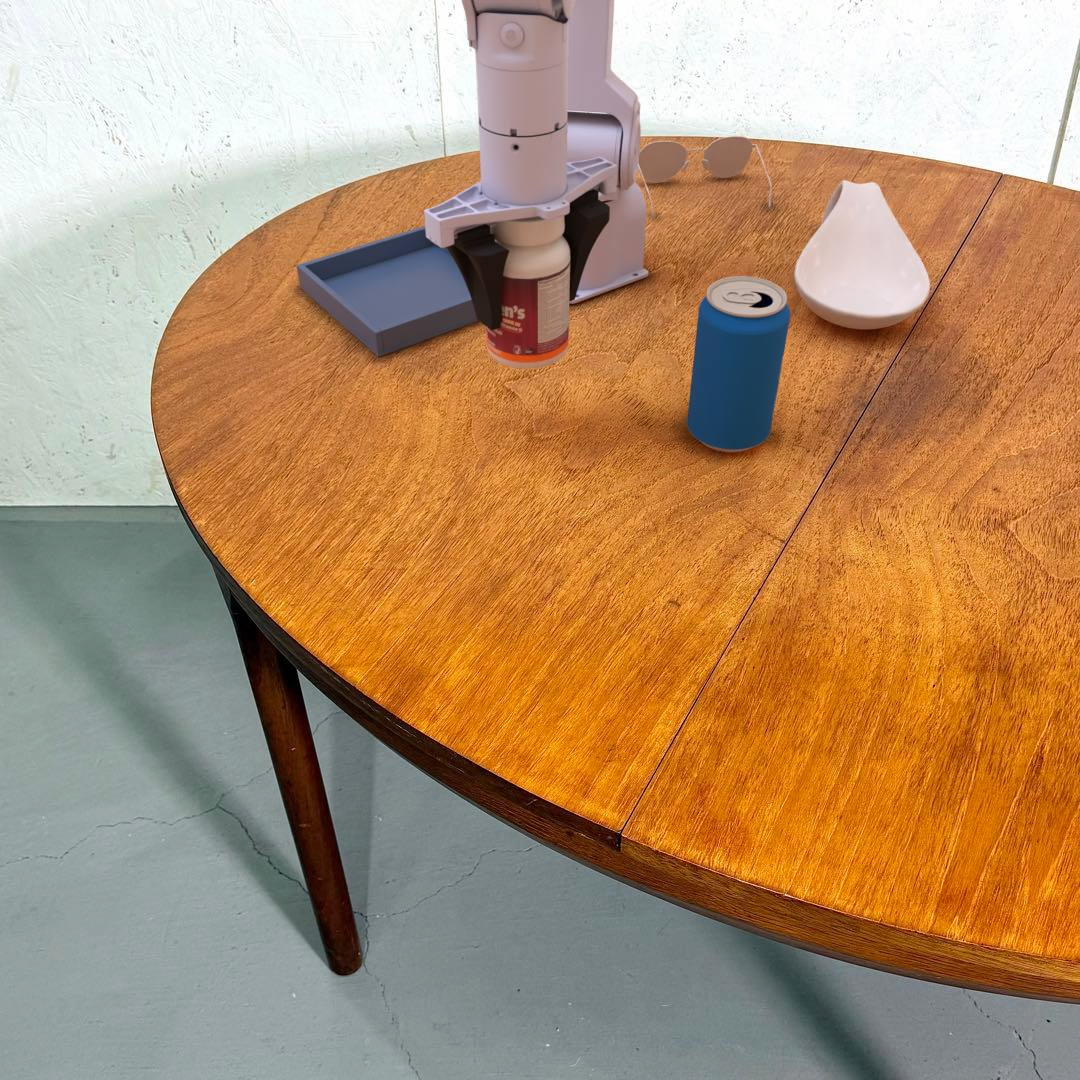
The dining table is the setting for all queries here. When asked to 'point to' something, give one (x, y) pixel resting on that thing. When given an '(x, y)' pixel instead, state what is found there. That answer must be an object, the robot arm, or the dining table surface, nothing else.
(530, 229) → the pill bottle
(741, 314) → the beverage can
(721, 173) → the sunglasses
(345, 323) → the slate tray
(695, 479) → the dining table surface
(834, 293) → the spoon rest
